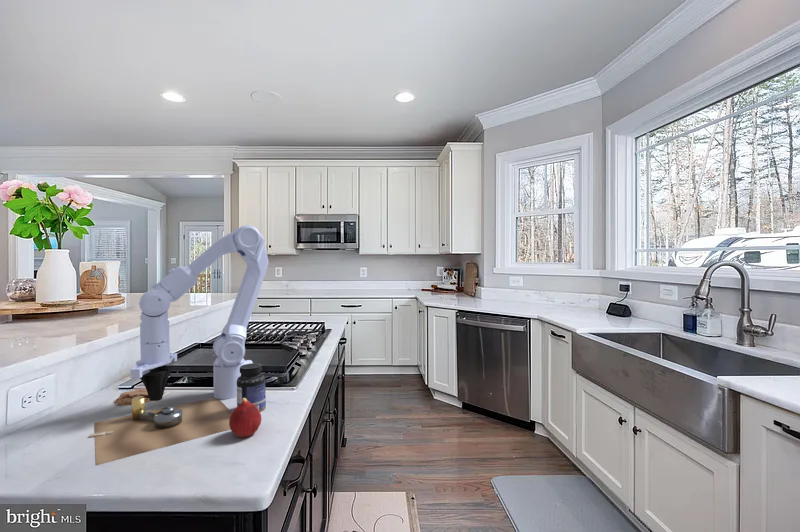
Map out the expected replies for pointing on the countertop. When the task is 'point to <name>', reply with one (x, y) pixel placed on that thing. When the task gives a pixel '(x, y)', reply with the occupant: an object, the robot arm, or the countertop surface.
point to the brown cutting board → (158, 430)
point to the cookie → (132, 396)
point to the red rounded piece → (245, 419)
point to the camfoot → (161, 418)
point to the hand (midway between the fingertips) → (156, 399)
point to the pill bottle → (252, 385)
